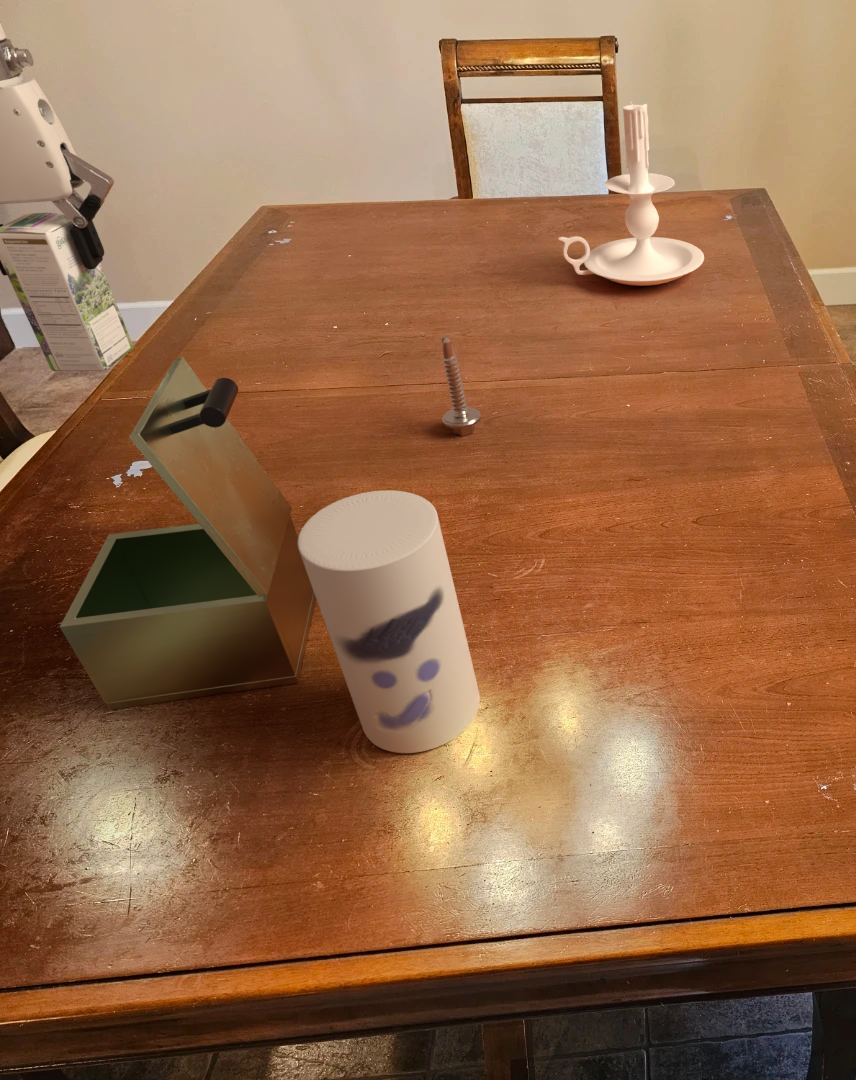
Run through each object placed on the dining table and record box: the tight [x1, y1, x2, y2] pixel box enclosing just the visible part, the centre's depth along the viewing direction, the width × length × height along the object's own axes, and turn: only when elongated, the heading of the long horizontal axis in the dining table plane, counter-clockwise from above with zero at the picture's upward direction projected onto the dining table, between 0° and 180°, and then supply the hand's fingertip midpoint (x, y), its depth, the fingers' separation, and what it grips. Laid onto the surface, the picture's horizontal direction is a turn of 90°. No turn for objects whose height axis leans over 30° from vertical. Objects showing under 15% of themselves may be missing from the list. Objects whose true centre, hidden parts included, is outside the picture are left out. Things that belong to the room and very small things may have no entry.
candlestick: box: [557, 100, 705, 287], centre depth 151 cm, size 21×25×28 cm
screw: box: [441, 336, 482, 437], centre depth 115 cm, size 13×5×5 cm
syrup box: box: [0, 211, 134, 373], centre depth 92 cm, size 6×6×14 cm
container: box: [297, 489, 481, 754], centre depth 75 cm, size 10×10×20 cm
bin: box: [59, 515, 317, 711], centre depth 84 cm, size 16×13×10 cm
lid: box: [128, 356, 293, 597], centre depth 77 cm, size 17×13×5 cm
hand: (53, 266), depth 91 cm, fingers closed on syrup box, 6 cm apart
